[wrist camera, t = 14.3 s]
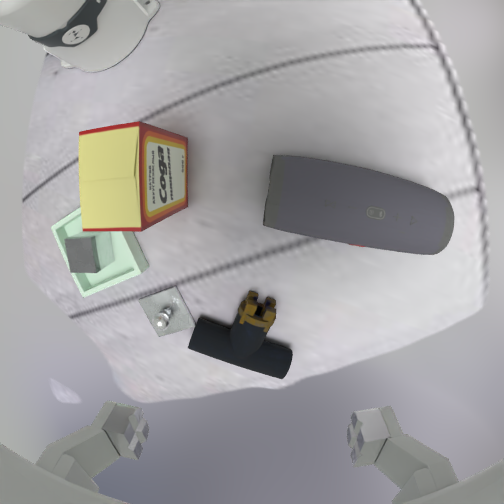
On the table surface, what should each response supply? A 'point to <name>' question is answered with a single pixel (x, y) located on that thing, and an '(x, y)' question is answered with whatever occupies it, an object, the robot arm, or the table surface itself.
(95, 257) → the brushed steel cube
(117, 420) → the robot arm
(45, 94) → the table surface
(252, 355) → the pipe connector
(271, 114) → the table surface
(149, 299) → the stud
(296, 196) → the bluetooth speaker
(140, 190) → the baking soda box
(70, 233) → the tray
